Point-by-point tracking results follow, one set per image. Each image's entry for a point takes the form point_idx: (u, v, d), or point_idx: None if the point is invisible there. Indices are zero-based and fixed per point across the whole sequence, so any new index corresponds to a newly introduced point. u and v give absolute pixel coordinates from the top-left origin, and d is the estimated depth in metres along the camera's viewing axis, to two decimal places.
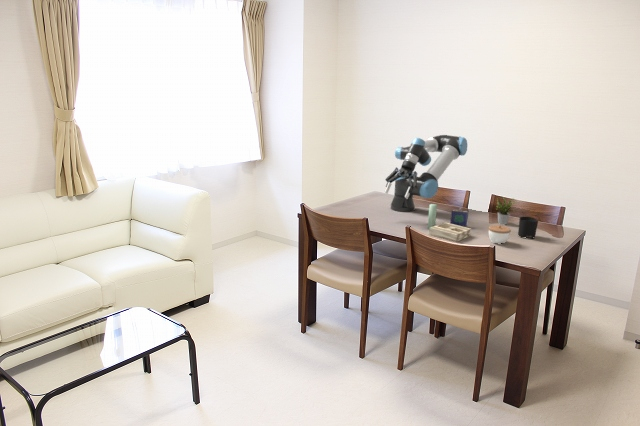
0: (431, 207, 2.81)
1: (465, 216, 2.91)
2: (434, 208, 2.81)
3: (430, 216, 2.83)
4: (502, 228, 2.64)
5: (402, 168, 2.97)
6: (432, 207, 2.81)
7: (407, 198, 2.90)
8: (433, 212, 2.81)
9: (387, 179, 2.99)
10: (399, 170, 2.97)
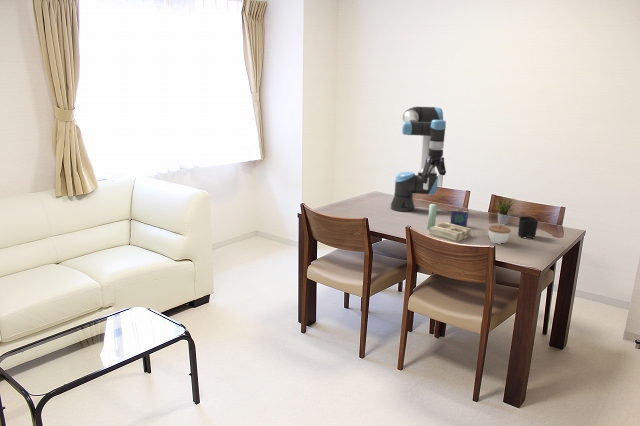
0: (431, 207, 2.81)
1: (465, 216, 2.91)
2: (434, 208, 2.81)
3: (430, 216, 2.83)
4: (502, 228, 2.64)
5: (434, 158, 2.74)
6: (432, 207, 2.81)
7: (438, 185, 2.86)
8: (433, 212, 2.81)
9: (426, 175, 2.71)
10: (432, 161, 2.73)
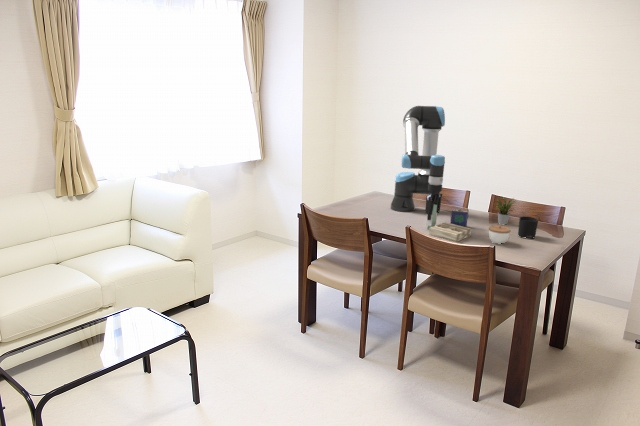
0: None
1: (465, 216, 2.91)
2: (434, 208, 2.81)
3: None
4: (502, 228, 2.64)
5: (433, 192, 2.77)
6: None
7: None
8: (433, 212, 2.81)
9: (430, 212, 2.79)
10: (432, 196, 2.78)
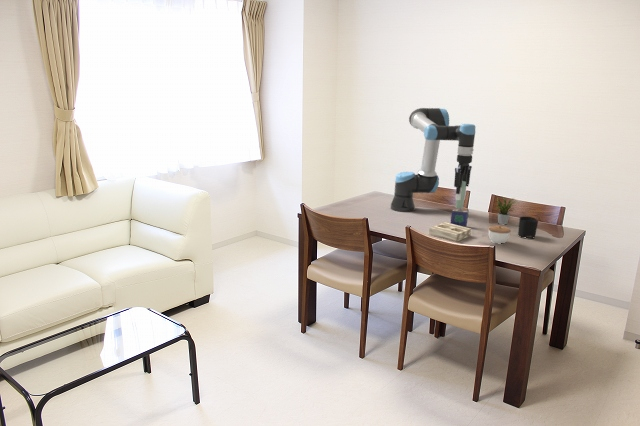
0: None
1: (465, 216, 2.91)
2: (463, 185, 2.64)
3: None
4: (502, 228, 2.64)
5: (462, 164, 2.60)
6: None
7: None
8: (462, 189, 2.65)
9: (459, 185, 2.62)
10: (461, 168, 2.60)
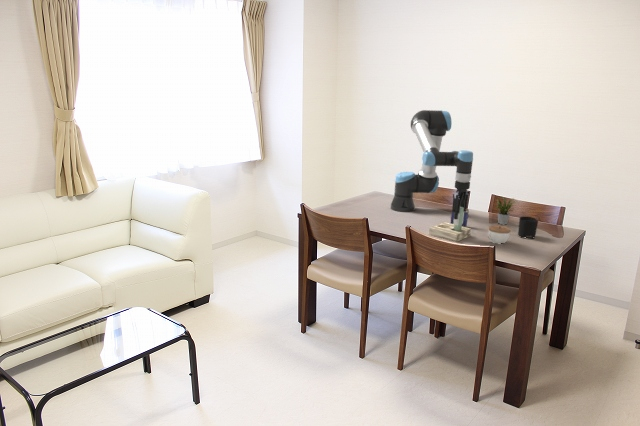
0: None
1: (465, 216, 2.91)
2: (461, 211, 2.67)
3: None
4: (502, 228, 2.64)
5: (460, 190, 2.64)
6: (459, 210, 2.67)
7: None
8: (460, 215, 2.68)
9: (457, 210, 2.65)
10: (459, 194, 2.64)
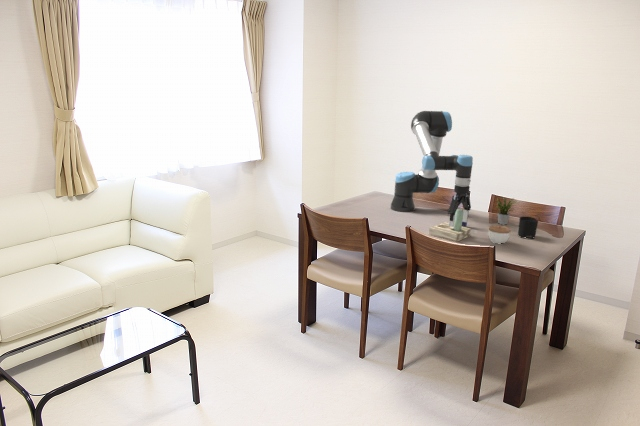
0: (457, 212, 2.68)
1: None
2: (460, 213, 2.68)
3: (456, 222, 2.70)
4: (502, 228, 2.64)
5: (460, 194, 2.65)
6: (458, 212, 2.68)
7: None
8: (459, 218, 2.68)
9: (452, 213, 2.62)
10: (459, 198, 2.64)
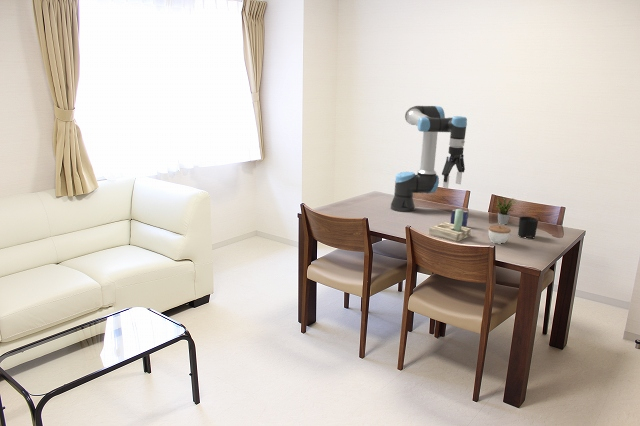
0: (457, 212, 2.68)
1: (465, 216, 2.91)
2: (460, 213, 2.68)
3: (456, 222, 2.70)
4: (502, 228, 2.64)
5: (455, 156, 2.67)
6: (458, 212, 2.68)
7: None
8: (459, 218, 2.68)
9: (446, 173, 2.65)
10: (453, 159, 2.67)
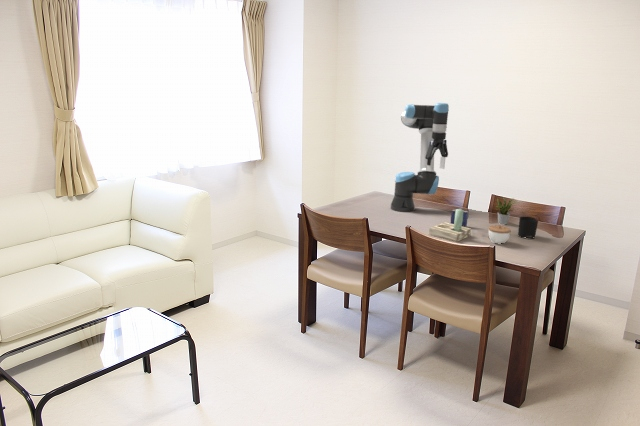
0: (457, 212, 2.68)
1: (465, 216, 2.91)
2: (460, 213, 2.68)
3: (456, 222, 2.70)
4: (502, 228, 2.64)
5: (437, 140, 2.81)
6: (458, 212, 2.68)
7: (440, 167, 2.93)
8: (459, 218, 2.68)
9: (430, 157, 2.79)
10: (436, 143, 2.80)
